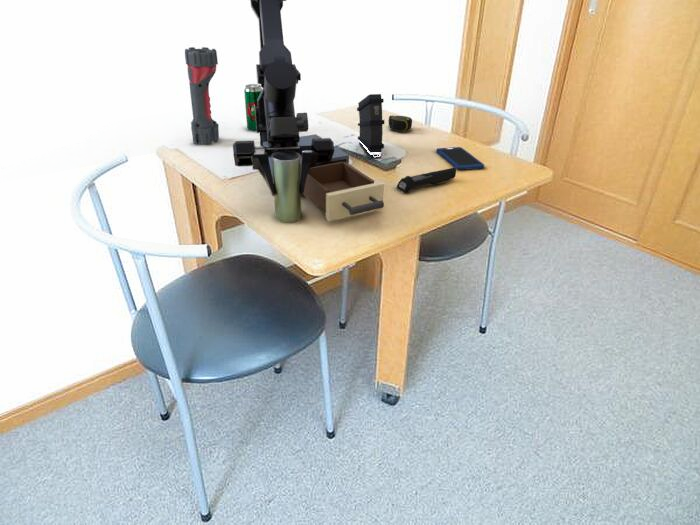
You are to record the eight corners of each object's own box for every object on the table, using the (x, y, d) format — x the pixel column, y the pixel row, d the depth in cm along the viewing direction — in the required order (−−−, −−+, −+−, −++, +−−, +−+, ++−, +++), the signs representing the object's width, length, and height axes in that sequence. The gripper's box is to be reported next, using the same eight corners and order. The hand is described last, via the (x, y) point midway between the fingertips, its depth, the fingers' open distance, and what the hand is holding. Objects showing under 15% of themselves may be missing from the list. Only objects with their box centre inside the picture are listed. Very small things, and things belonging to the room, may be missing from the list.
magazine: (372, 157, 120) (368, 94, 118) (359, 161, 132) (354, 104, 130) (387, 156, 121) (383, 93, 118) (372, 160, 133) (368, 104, 131)
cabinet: (348, 185, 109) (349, 155, 105) (293, 197, 103) (292, 165, 99) (315, 162, 120) (315, 134, 116) (264, 171, 114) (262, 142, 110)
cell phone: (460, 149, 131) (460, 146, 131) (485, 168, 120) (485, 165, 120) (435, 150, 130) (435, 148, 129) (458, 170, 118) (458, 167, 118)
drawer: (394, 216, 95) (396, 191, 92) (339, 230, 89) (340, 204, 86) (346, 182, 108) (346, 159, 105) (295, 192, 102) (294, 168, 100)
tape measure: (410, 127, 147) (411, 114, 145) (411, 134, 141) (413, 121, 139) (387, 126, 147) (388, 113, 145) (388, 133, 141) (389, 120, 139)
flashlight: (228, 136, 134) (219, 46, 121) (221, 146, 127) (210, 52, 115) (200, 135, 134) (188, 45, 121) (191, 144, 127) (178, 50, 115)
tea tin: (269, 215, 95) (265, 154, 88) (290, 208, 98) (288, 148, 91) (285, 225, 92) (283, 162, 85) (307, 217, 95) (306, 156, 88)
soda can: (256, 125, 143) (253, 82, 137) (268, 128, 141) (266, 85, 134) (243, 129, 140) (239, 85, 133) (256, 132, 137) (253, 89, 131)
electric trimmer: (458, 182, 113) (461, 170, 111) (405, 194, 106) (406, 181, 104) (448, 177, 116) (450, 164, 114) (395, 188, 108) (396, 175, 107)
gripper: (228, 96, 85) (234, 180, 81) (333, 95, 88) (343, 175, 85) (232, 127, 95) (238, 202, 92) (326, 125, 99) (334, 197, 96)
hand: (288, 194), depth 91 cm, fingers closed on tea tin, 5 cm apart
